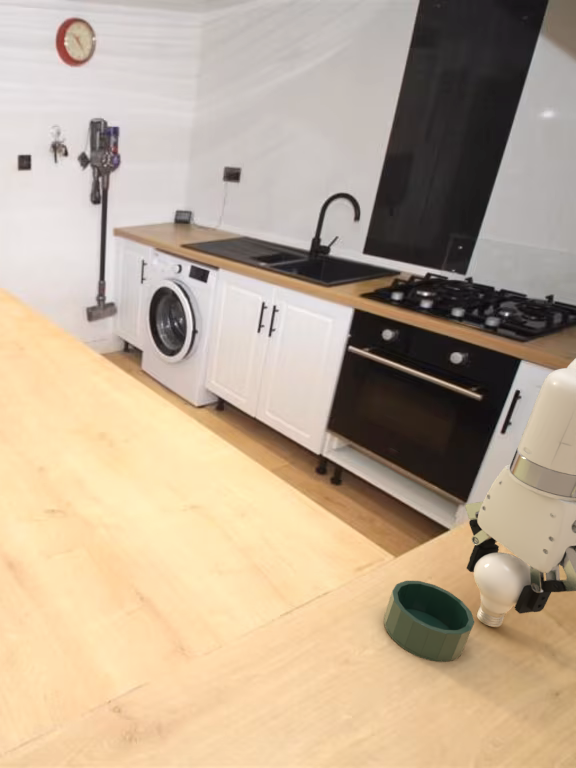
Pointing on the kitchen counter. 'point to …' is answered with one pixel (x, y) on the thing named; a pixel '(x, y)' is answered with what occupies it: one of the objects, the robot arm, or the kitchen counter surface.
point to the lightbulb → (499, 585)
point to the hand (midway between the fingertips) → (501, 588)
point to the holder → (428, 621)
